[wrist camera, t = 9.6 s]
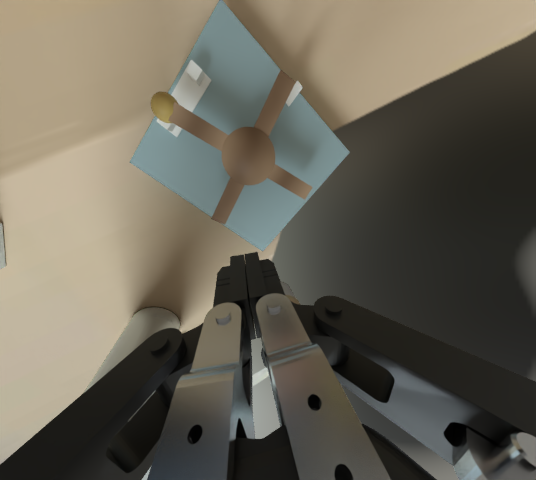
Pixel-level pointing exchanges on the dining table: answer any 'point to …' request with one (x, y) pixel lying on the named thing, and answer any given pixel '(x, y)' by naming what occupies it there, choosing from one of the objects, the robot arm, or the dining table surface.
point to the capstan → (239, 145)
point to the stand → (229, 119)
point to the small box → (2, 248)
